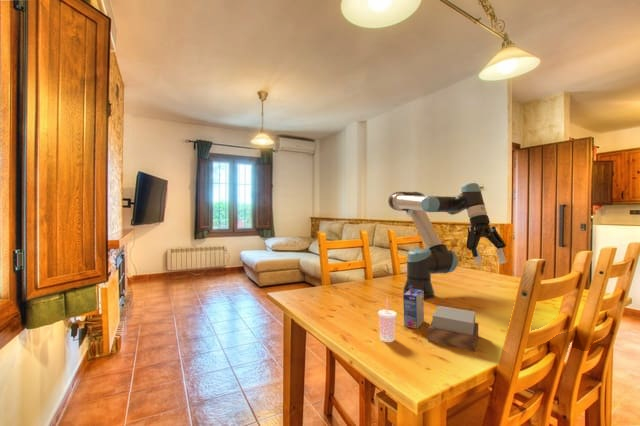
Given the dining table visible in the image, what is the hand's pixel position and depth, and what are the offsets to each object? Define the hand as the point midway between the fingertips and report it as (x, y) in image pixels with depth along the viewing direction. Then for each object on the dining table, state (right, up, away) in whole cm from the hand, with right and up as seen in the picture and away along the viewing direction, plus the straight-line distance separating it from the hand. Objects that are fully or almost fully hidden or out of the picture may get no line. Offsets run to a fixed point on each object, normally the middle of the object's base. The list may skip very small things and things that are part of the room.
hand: (491, 264), depth 125 cm
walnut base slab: (-27, -22, -24) cm, 42 cm away
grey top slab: (-27, -17, -24) cm, 40 cm away
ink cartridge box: (-36, -21, -11) cm, 44 cm away
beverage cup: (-50, -21, -25) cm, 60 cm away
